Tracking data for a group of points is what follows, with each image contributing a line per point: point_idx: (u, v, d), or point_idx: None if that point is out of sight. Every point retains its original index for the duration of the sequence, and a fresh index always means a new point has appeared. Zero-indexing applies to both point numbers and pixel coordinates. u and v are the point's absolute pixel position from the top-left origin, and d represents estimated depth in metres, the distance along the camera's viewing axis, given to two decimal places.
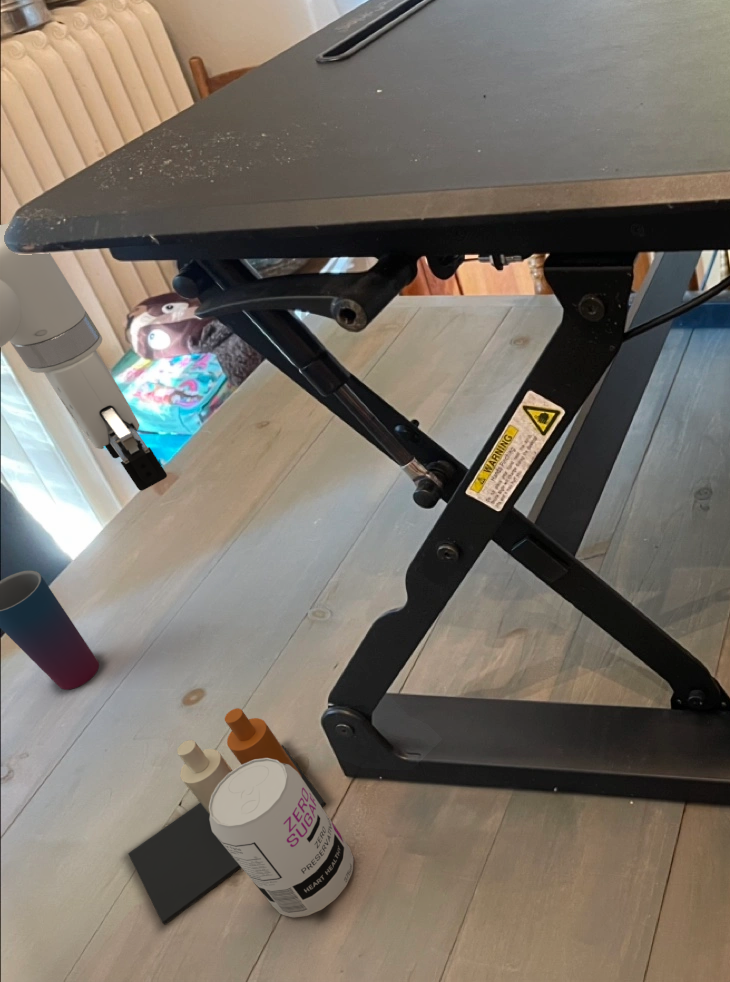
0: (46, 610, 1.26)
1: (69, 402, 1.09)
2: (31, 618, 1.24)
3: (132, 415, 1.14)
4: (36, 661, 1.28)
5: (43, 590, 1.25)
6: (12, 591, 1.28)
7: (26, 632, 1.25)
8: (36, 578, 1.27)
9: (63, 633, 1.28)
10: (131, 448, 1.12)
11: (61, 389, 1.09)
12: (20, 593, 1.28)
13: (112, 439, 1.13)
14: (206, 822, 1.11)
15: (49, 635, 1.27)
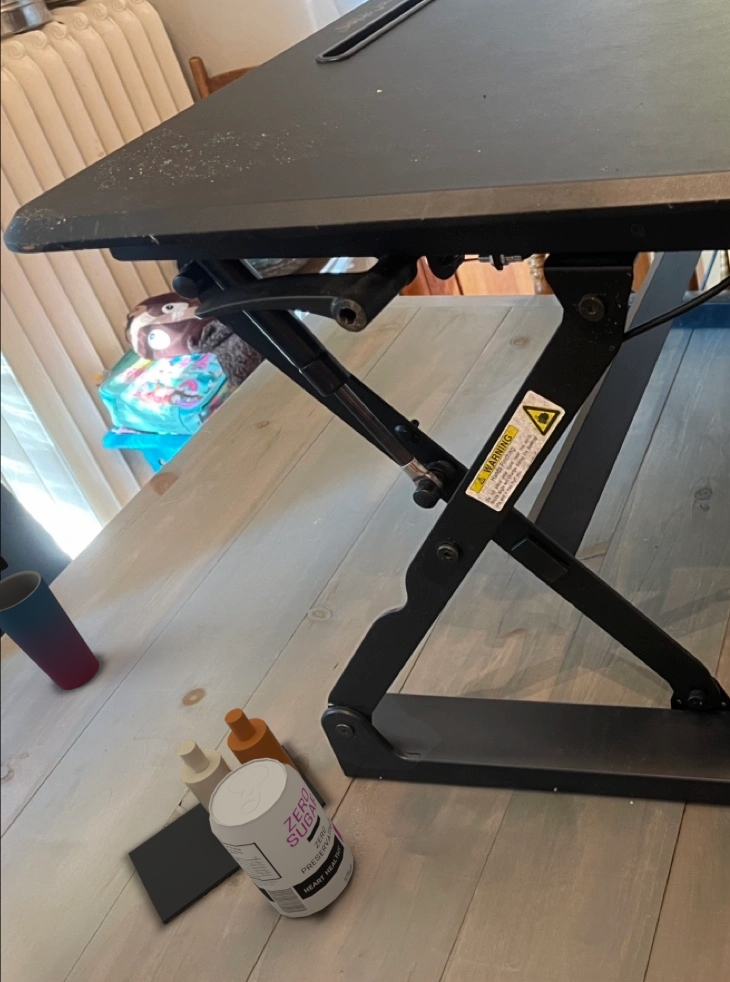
0: (46, 610, 1.26)
1: None
2: (31, 618, 1.24)
3: None
4: (36, 661, 1.28)
5: (43, 590, 1.25)
6: (12, 591, 1.28)
7: (26, 632, 1.25)
8: (36, 578, 1.27)
9: (63, 633, 1.28)
10: None
11: None
12: (20, 593, 1.28)
13: None
14: (206, 822, 1.11)
15: (49, 635, 1.27)
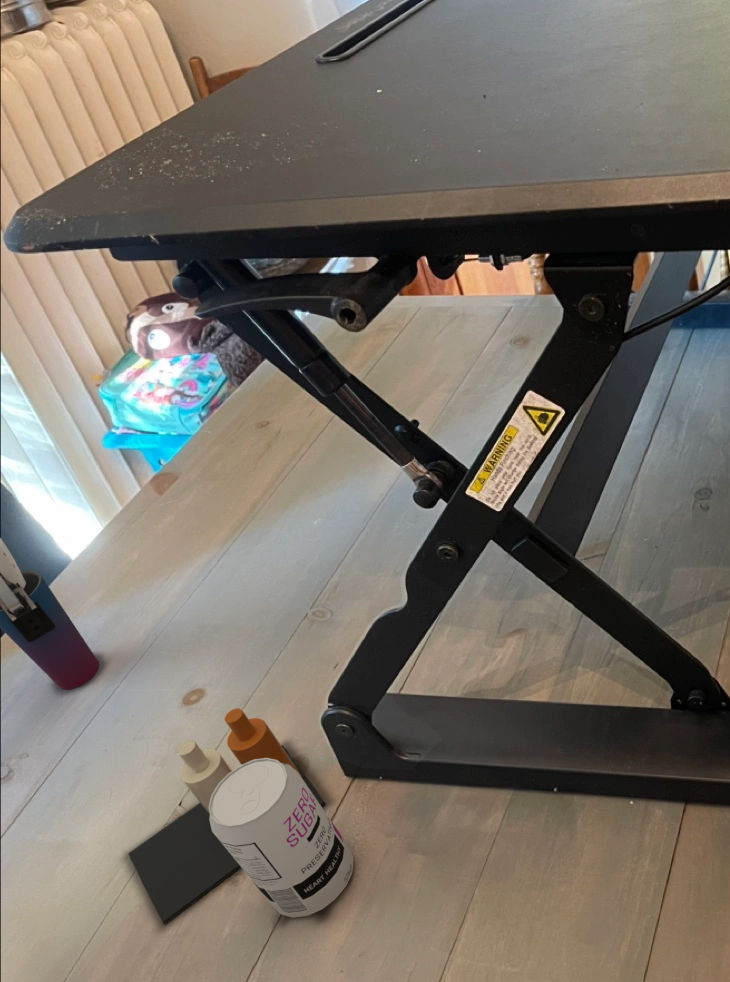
0: (46, 610, 1.26)
1: None
2: None
3: (17, 576, 1.20)
4: (36, 661, 1.28)
5: (43, 590, 1.26)
6: None
7: None
8: (36, 578, 1.27)
9: (63, 633, 1.28)
10: (17, 611, 1.20)
11: None
12: None
13: (0, 600, 1.21)
14: (206, 822, 1.11)
15: (49, 635, 1.27)
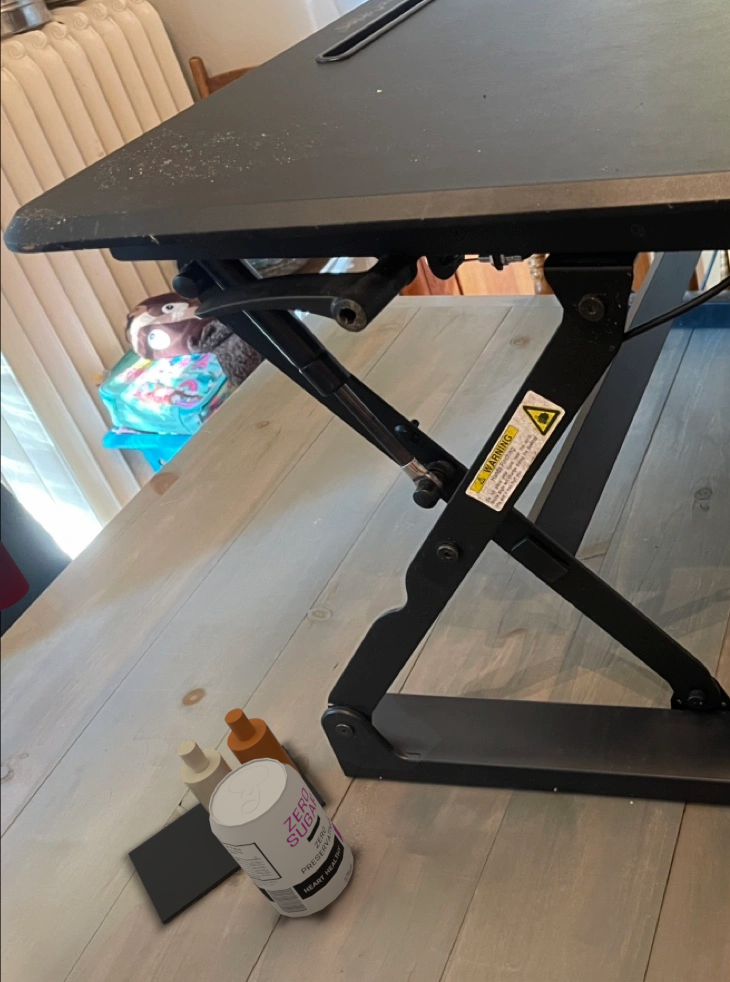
0: None
1: None
2: None
3: None
4: None
5: None
6: None
7: None
8: None
9: None
10: None
11: None
12: None
13: None
14: (206, 822, 1.11)
15: None
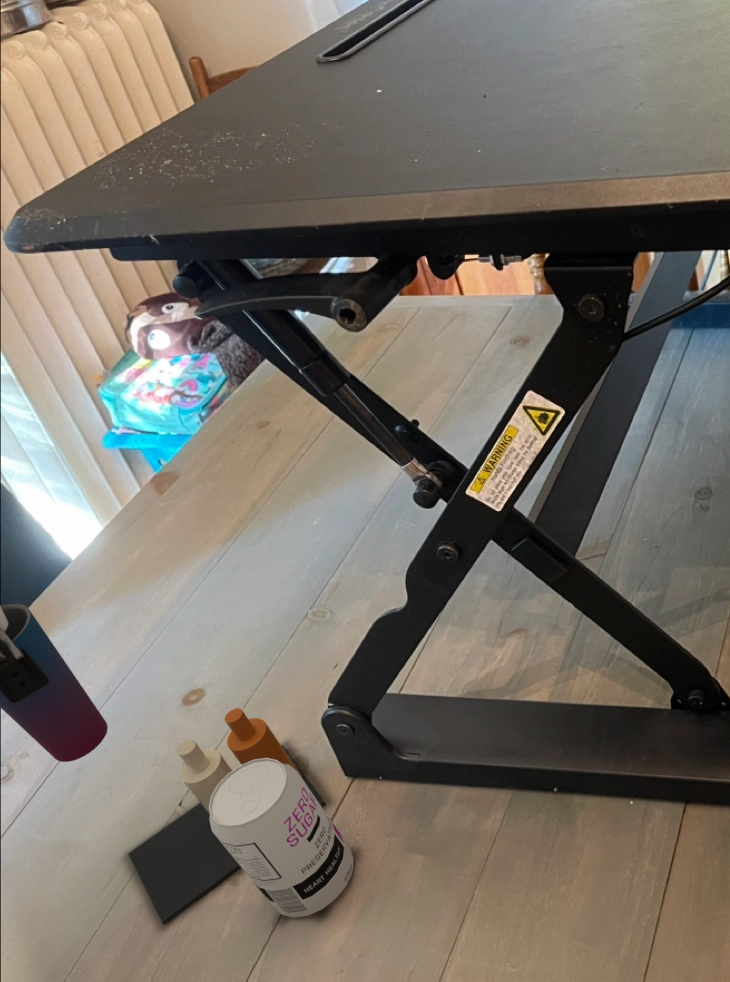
0: (37, 658, 0.92)
1: None
2: None
3: None
4: (24, 726, 0.95)
5: (33, 631, 0.92)
6: None
7: None
8: (23, 614, 0.94)
9: (60, 689, 0.95)
10: None
11: None
12: None
13: None
14: (206, 822, 1.11)
15: (41, 692, 0.93)
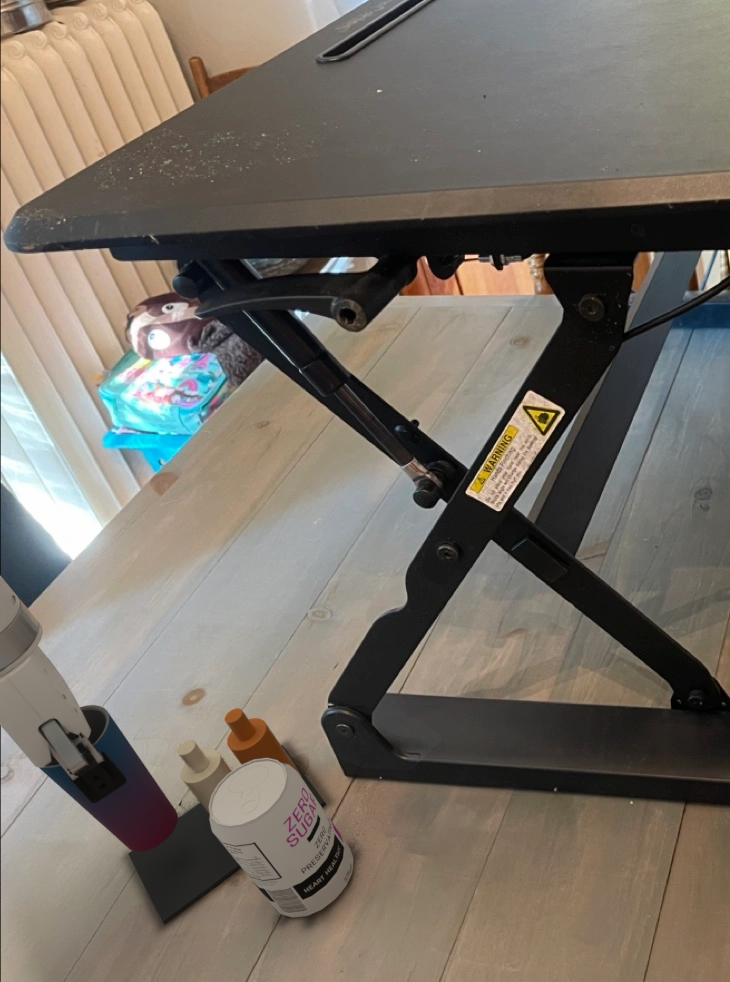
0: (116, 759, 0.96)
1: None
2: None
3: (81, 723, 0.91)
4: (101, 821, 0.99)
5: (112, 733, 0.96)
6: None
7: None
8: (102, 715, 0.98)
9: (135, 786, 0.99)
10: (81, 770, 0.91)
11: None
12: None
13: (58, 754, 0.92)
14: (206, 822, 1.11)
15: (119, 790, 0.97)
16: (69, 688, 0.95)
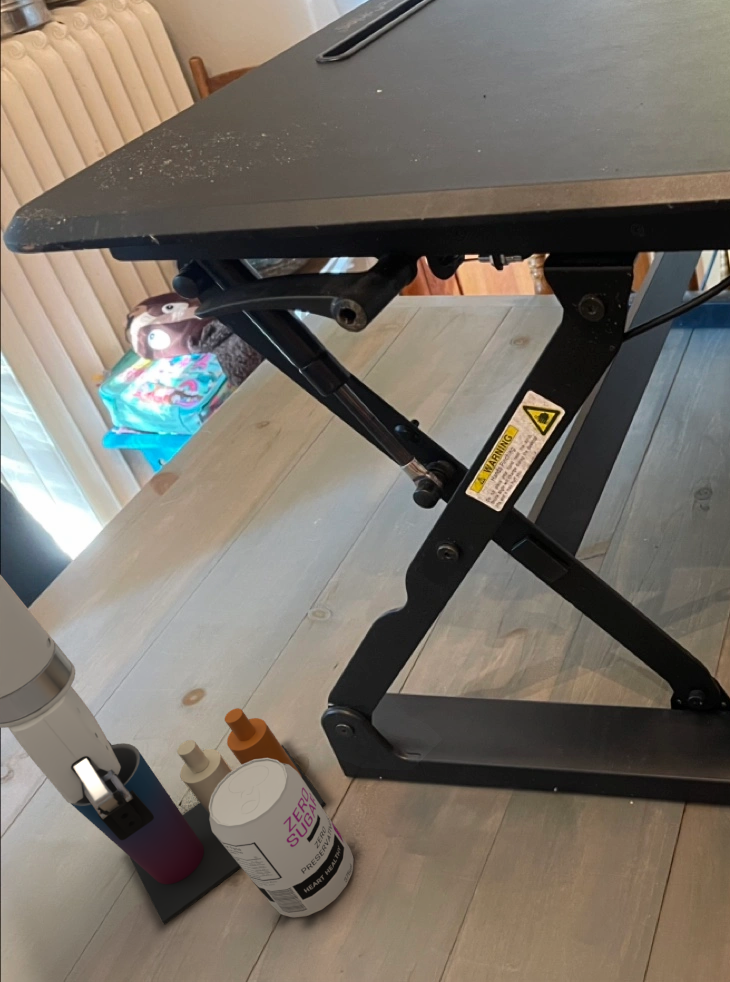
0: (146, 796, 1.00)
1: (34, 760, 0.90)
2: None
3: (111, 760, 0.94)
4: (131, 855, 1.02)
5: (142, 771, 1.00)
6: (101, 769, 1.02)
7: None
8: (132, 753, 1.01)
9: (164, 821, 1.02)
10: (110, 807, 0.92)
11: (24, 747, 0.89)
12: None
13: (87, 790, 0.94)
14: (206, 822, 1.11)
15: (149, 826, 1.01)
16: (99, 725, 0.98)
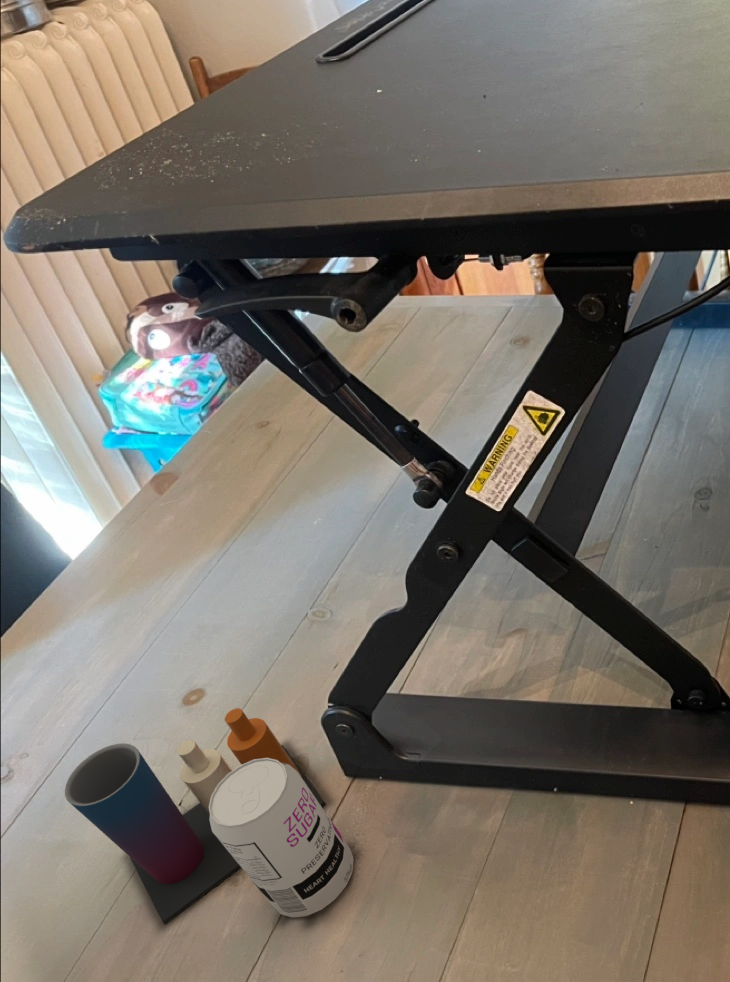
0: (146, 796, 1.00)
1: None
2: (128, 809, 0.98)
3: None
4: (131, 855, 1.02)
5: (142, 771, 1.00)
6: (101, 769, 1.02)
7: (122, 825, 0.99)
8: (132, 753, 1.01)
9: (164, 821, 1.02)
10: None
11: None
12: (111, 770, 1.02)
13: None
14: (206, 822, 1.11)
15: (149, 826, 1.01)
16: None
